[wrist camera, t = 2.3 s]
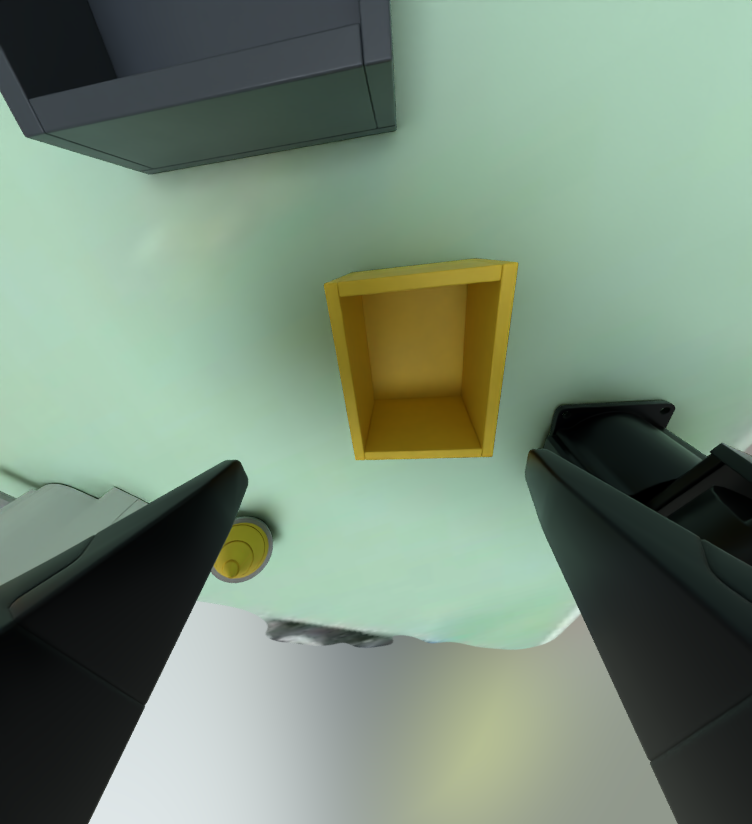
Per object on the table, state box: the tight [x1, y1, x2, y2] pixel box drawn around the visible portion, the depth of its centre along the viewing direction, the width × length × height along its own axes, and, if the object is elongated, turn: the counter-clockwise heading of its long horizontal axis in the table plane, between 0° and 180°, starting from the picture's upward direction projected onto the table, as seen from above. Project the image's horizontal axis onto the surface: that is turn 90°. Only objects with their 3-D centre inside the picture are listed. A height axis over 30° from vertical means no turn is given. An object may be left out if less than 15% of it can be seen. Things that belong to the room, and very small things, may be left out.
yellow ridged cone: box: [211, 516, 273, 583], centre depth 23 cm, size 5×5×10 cm
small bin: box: [324, 258, 518, 460], centre depth 14 cm, size 6×8×6 cm
